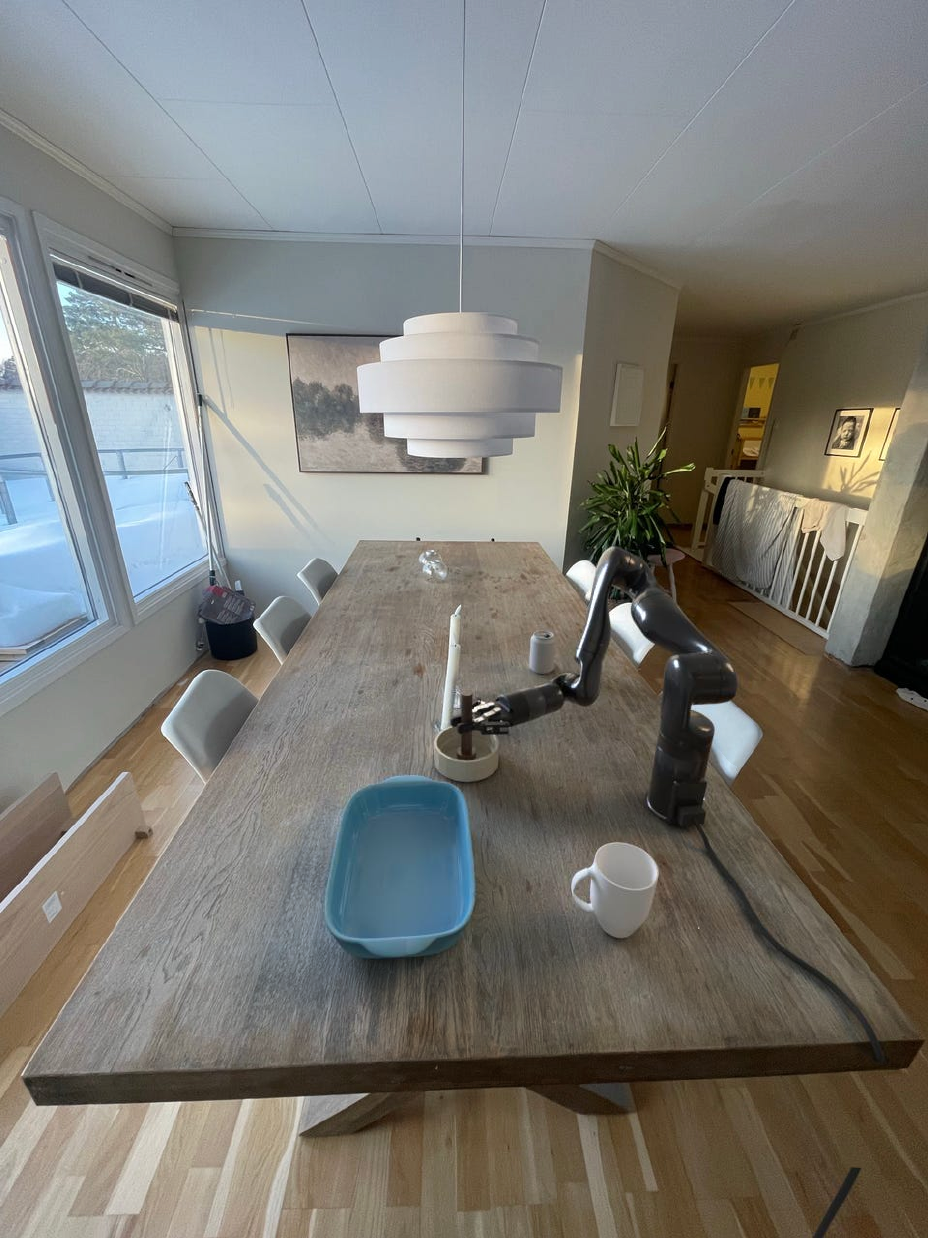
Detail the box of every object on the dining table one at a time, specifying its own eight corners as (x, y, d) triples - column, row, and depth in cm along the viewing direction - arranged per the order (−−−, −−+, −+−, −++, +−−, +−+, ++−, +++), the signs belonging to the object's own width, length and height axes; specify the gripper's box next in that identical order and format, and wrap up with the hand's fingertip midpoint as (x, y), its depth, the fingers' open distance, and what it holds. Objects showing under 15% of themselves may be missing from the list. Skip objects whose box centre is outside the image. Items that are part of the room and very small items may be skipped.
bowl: (504, 780, 109) (505, 758, 107) (438, 786, 107) (437, 764, 105) (491, 741, 122) (491, 721, 120) (431, 746, 120) (431, 726, 118)
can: (553, 676, 154) (555, 639, 149) (527, 674, 155) (530, 637, 151) (554, 665, 160) (556, 630, 156) (529, 663, 162) (532, 628, 157)
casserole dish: (351, 804, 102) (349, 774, 99) (463, 799, 104) (464, 769, 101) (315, 998, 68) (309, 960, 65) (483, 986, 69) (484, 949, 67)
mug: (638, 900, 82) (648, 841, 78) (655, 953, 74) (667, 891, 69) (564, 897, 82) (570, 839, 78) (573, 950, 74) (580, 888, 70)
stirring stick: (477, 761, 112) (479, 697, 107) (458, 763, 112) (458, 699, 106) (474, 749, 116) (475, 687, 111) (455, 751, 116) (455, 688, 110)
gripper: (505, 678, 122) (439, 696, 114) (540, 705, 110) (470, 727, 102) (504, 706, 124) (440, 725, 117) (538, 735, 113) (470, 758, 105)
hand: (454, 726), depth 110 cm, fingers closed on stirring stick, 2 cm apart
